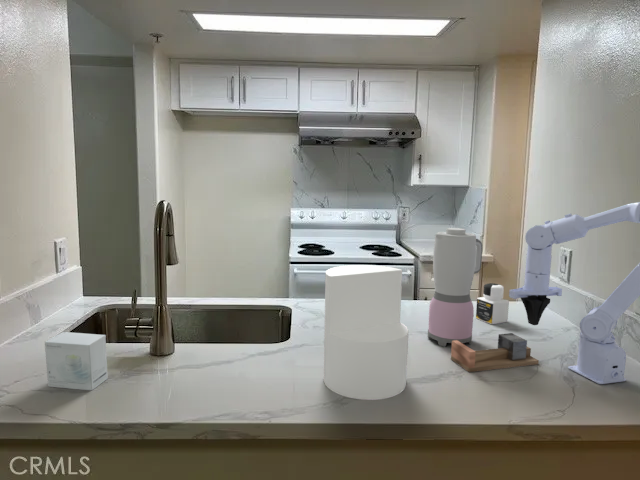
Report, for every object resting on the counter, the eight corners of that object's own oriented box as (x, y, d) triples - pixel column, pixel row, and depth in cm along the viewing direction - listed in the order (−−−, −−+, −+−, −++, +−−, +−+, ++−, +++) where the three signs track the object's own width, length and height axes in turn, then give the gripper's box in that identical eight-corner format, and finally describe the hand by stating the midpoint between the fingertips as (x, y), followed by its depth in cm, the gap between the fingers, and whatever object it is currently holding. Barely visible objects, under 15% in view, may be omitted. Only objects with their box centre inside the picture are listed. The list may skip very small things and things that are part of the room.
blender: (444, 350, 126) (450, 232, 121) (418, 335, 137) (423, 227, 132) (490, 343, 132) (498, 230, 127) (462, 329, 143) (469, 225, 138)
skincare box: (46, 387, 100) (43, 341, 99) (66, 375, 107) (63, 331, 105) (91, 391, 99) (88, 344, 97) (109, 378, 105) (106, 333, 104)
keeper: (525, 358, 117) (527, 340, 117) (512, 360, 116) (513, 342, 116) (510, 350, 123) (511, 333, 122) (497, 351, 122) (498, 334, 121)
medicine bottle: (475, 318, 154) (477, 283, 153) (491, 315, 157) (493, 281, 156) (491, 324, 148) (494, 287, 146) (508, 322, 151) (510, 286, 149)
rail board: (538, 364, 117) (540, 345, 117) (468, 372, 112) (470, 352, 111) (516, 352, 125) (518, 334, 124) (450, 359, 119) (451, 340, 119)
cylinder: (312, 369, 112) (313, 267, 108) (381, 359, 118) (385, 263, 115) (343, 405, 95) (346, 285, 91) (422, 392, 101) (428, 279, 98)
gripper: (549, 268, 124) (545, 317, 126) (502, 270, 120) (499, 321, 122) (570, 273, 117) (565, 325, 119) (521, 276, 113) (517, 329, 115)
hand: (533, 323), depth 120 cm, fingers closed
